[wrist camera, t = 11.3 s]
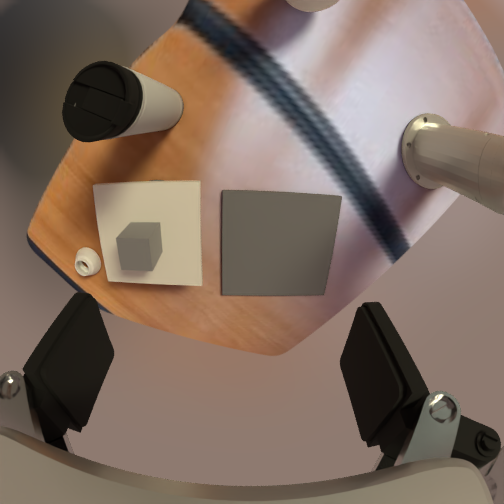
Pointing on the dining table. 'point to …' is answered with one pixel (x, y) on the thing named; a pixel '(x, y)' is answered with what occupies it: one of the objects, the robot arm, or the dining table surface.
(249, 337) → the dining table surface
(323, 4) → the white pear-shaped vessel
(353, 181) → the dining table surface
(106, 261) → the square lid
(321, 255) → the mat
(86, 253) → the lidless jar
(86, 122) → the travel mug
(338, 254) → the dining table surface
